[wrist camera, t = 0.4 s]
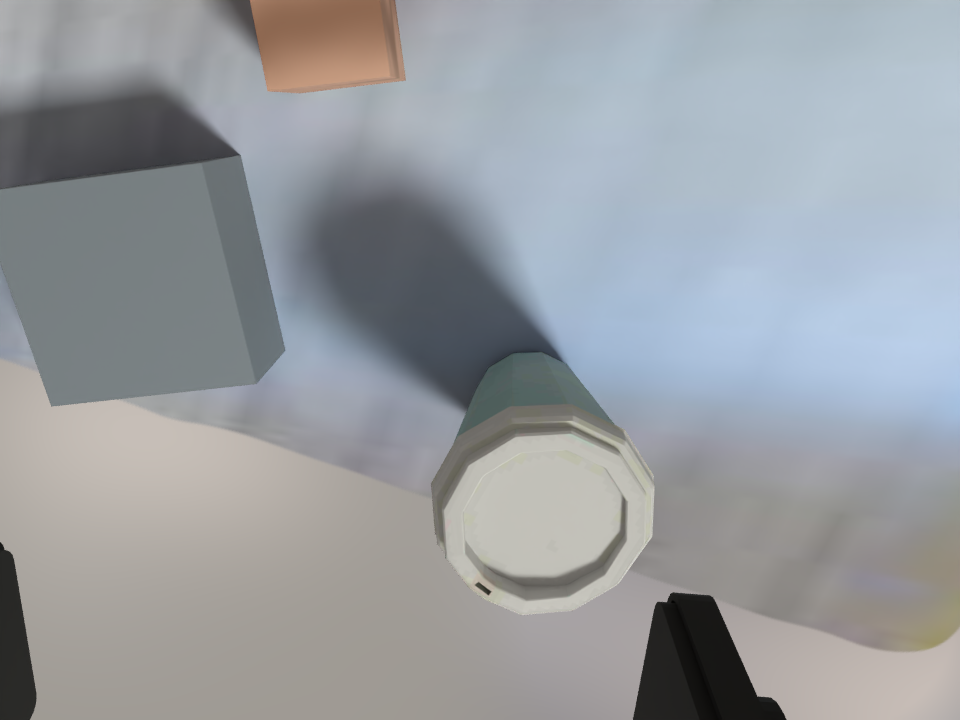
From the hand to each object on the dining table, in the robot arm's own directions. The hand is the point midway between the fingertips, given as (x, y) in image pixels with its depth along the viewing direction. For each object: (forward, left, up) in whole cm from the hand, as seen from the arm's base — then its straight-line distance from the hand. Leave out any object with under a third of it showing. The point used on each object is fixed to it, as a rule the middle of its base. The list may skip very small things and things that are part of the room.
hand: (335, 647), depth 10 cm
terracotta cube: (-12, -5, -34) cm, 37 cm away
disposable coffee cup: (+11, +3, -34) cm, 36 cm away
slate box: (0, -18, -34) cm, 39 cm away
